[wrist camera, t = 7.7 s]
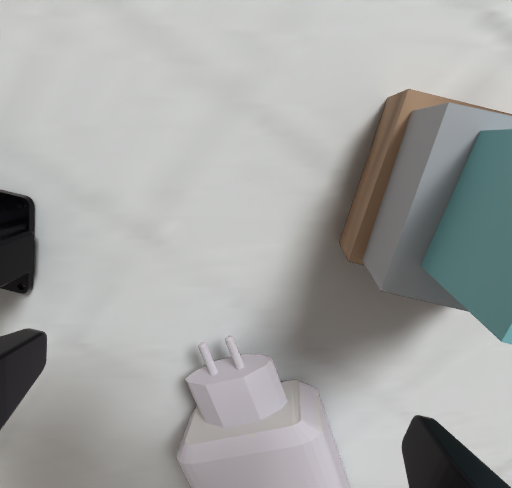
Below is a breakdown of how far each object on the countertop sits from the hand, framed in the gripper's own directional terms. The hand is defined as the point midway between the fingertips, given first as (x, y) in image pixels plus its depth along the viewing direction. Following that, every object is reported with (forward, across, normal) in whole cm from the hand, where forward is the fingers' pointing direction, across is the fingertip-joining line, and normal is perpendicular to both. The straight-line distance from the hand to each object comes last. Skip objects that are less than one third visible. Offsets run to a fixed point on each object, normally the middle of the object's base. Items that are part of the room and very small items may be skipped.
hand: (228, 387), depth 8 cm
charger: (+13, -3, +12) cm, 18 cm away
